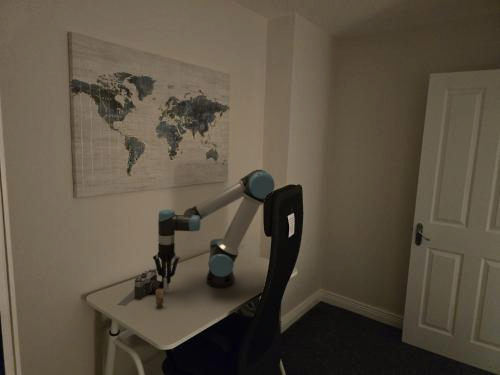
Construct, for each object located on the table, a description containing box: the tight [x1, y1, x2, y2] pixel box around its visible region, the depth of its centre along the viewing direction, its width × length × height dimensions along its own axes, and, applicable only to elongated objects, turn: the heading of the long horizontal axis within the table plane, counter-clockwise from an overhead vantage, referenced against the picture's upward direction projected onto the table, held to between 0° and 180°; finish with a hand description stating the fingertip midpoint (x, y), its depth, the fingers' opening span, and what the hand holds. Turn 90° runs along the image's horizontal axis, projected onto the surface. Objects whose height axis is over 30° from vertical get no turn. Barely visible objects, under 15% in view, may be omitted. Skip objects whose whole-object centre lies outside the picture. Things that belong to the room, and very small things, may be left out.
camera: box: [133, 268, 164, 301], centre depth 159 cm, size 16×10×10 cm, turn 165°
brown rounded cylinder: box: [155, 288, 164, 309], centre depth 146 cm, size 3×3×8 cm
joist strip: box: [117, 289, 135, 306], centre depth 156 cm, size 4×17×1 cm, turn 171°
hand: (166, 289), depth 160 cm, fingers closed
